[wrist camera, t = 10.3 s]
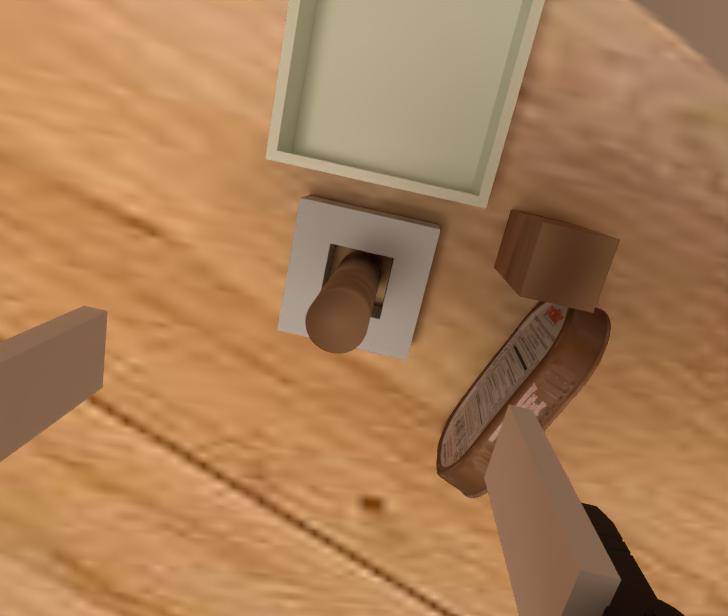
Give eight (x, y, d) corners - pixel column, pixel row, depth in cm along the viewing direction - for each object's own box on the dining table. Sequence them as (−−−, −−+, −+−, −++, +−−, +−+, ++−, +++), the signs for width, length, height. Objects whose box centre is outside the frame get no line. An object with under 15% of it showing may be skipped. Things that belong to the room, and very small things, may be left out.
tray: (536, -19, 29) (559, -52, 25) (475, 203, 33) (486, 208, 28) (320, -65, 29) (305, -107, 25) (284, 160, 33) (265, 158, 29)
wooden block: (570, 223, 33) (620, 239, 25) (550, 280, 34) (593, 312, 26) (511, 209, 33) (542, 222, 25) (494, 267, 34) (519, 296, 26)
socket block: (437, 224, 33) (440, 229, 31) (406, 345, 36) (406, 360, 33) (309, 195, 34) (300, 197, 31) (287, 317, 36) (277, 330, 33)
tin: (458, 453, 38) (472, 529, 30) (425, 432, 38) (429, 504, 30) (585, 297, 34) (640, 337, 26) (548, 272, 34) (593, 305, 26)
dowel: (384, 257, 34) (374, 301, 23) (375, 297, 35) (360, 359, 24) (343, 247, 34) (311, 286, 23) (335, 287, 35) (300, 345, 24)
